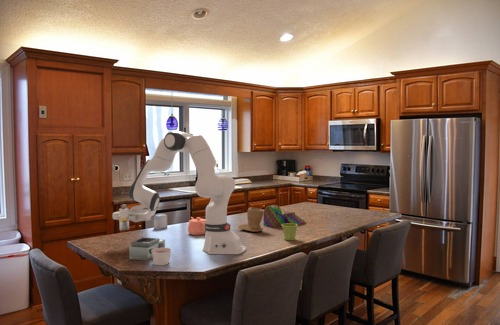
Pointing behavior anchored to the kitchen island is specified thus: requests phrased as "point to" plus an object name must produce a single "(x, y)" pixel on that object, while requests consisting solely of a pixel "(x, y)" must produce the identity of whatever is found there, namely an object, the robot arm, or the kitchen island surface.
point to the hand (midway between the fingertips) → (123, 218)
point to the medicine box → (160, 221)
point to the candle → (161, 256)
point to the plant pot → (289, 231)
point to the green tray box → (144, 248)
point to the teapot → (196, 226)
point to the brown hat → (253, 220)
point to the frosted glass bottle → (124, 218)
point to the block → (280, 217)
